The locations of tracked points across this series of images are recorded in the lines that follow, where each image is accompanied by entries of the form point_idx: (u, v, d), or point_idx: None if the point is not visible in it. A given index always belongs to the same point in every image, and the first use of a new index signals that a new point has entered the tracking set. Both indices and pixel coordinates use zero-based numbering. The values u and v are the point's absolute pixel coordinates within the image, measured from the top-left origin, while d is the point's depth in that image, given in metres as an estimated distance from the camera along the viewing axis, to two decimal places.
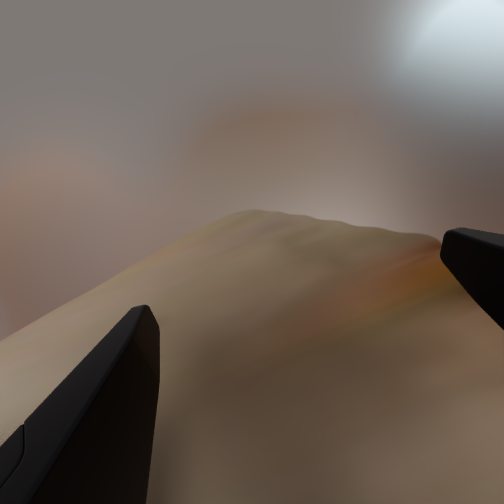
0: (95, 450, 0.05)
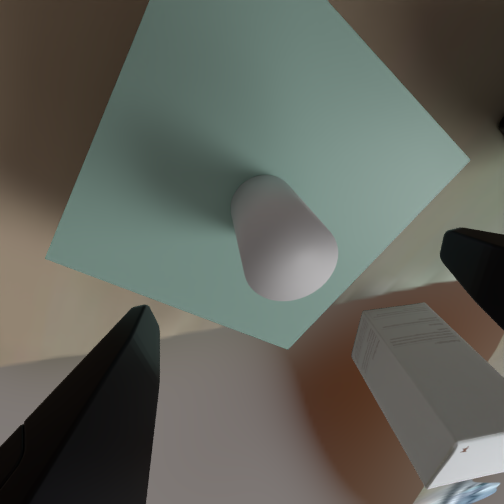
0: (95, 450, 0.05)
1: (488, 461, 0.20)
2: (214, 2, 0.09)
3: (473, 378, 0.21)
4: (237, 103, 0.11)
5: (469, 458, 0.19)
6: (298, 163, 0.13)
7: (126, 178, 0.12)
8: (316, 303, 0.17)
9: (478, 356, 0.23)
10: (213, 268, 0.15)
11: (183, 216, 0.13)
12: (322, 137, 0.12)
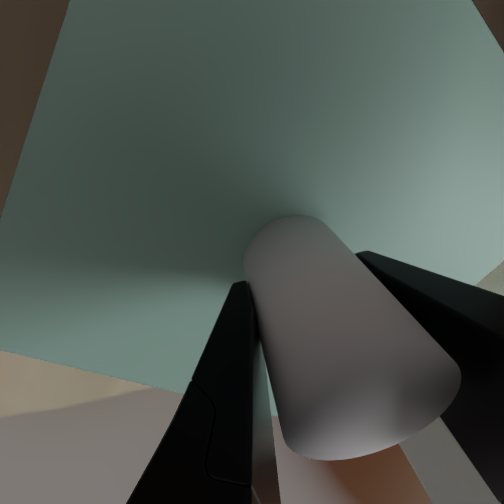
0: (259, 406, 0.05)
1: None
2: None
3: None
4: (259, 107, 0.07)
5: None
6: (347, 198, 0.08)
7: (79, 225, 0.07)
8: None
9: None
10: None
11: (171, 277, 0.09)
12: (387, 159, 0.08)
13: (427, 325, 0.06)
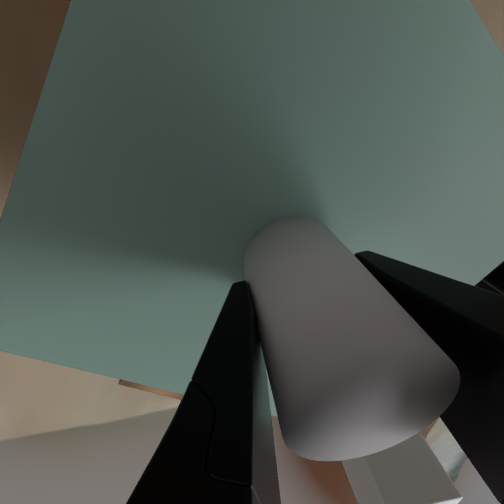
0: (259, 406, 0.05)
1: None
2: None
3: (411, 455, 0.27)
4: (258, 108, 0.07)
5: None
6: (346, 199, 0.08)
7: (79, 226, 0.07)
8: None
9: (418, 433, 0.29)
10: None
11: (172, 277, 0.09)
12: (386, 160, 0.08)
13: (427, 325, 0.06)
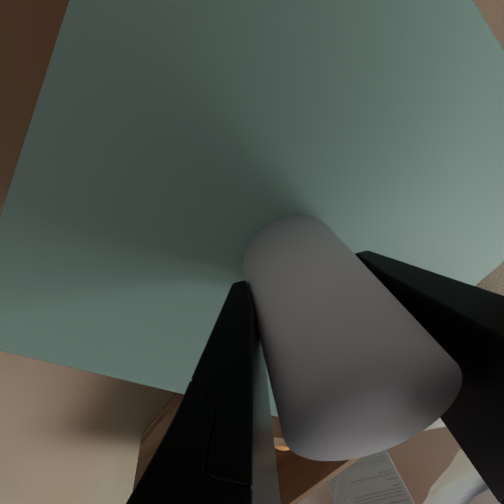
0: (259, 406, 0.05)
1: None
2: None
3: None
4: (259, 106, 0.07)
5: None
6: (347, 198, 0.08)
7: (79, 225, 0.07)
8: None
9: None
10: None
11: (171, 277, 0.09)
12: (387, 159, 0.08)
13: (427, 325, 0.06)
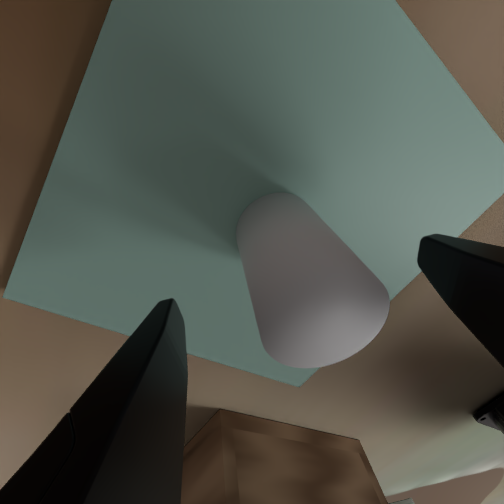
0: (140, 438, 0.05)
1: None
2: None
3: None
4: (246, 103, 0.08)
5: None
6: (320, 178, 0.10)
7: (103, 198, 0.09)
8: None
9: None
10: (214, 302, 0.12)
11: (177, 244, 0.10)
12: (352, 146, 0.10)
13: None
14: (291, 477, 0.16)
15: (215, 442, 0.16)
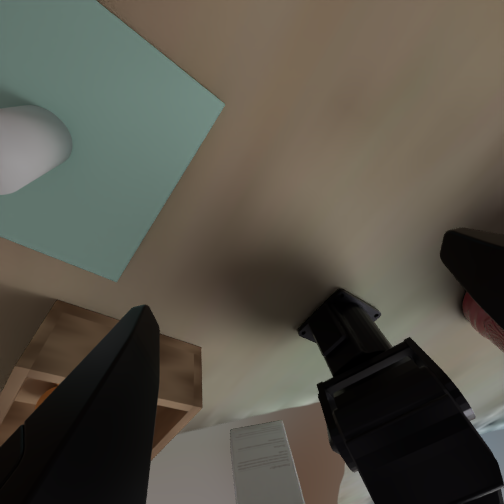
0: (95, 450, 0.05)
1: None
2: None
3: None
4: None
5: None
6: (58, 96, 0.15)
7: None
8: (128, 236, 0.19)
9: (296, 482, 0.31)
10: (11, 193, 0.17)
11: None
12: (73, 73, 0.14)
13: None
14: None
15: None
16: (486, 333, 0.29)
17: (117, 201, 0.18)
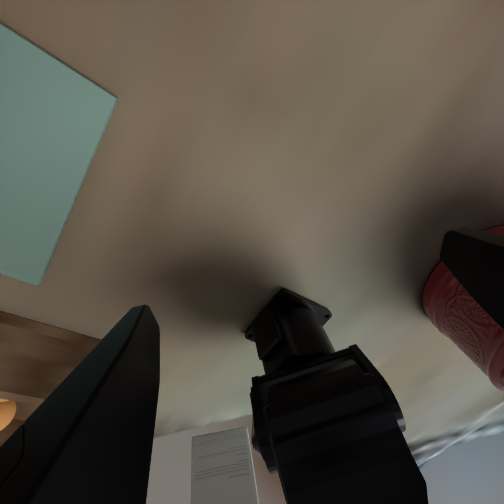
0: (95, 450, 0.05)
1: None
2: None
3: None
4: None
5: None
6: None
7: None
8: (40, 238, 0.19)
9: (253, 492, 0.30)
10: None
11: None
12: None
13: None
14: (26, 355, 0.20)
15: None
16: (445, 333, 0.27)
17: (21, 202, 0.18)
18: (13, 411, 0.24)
